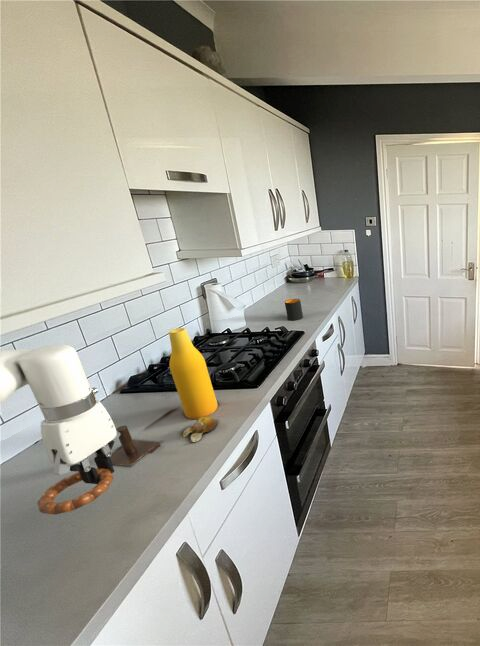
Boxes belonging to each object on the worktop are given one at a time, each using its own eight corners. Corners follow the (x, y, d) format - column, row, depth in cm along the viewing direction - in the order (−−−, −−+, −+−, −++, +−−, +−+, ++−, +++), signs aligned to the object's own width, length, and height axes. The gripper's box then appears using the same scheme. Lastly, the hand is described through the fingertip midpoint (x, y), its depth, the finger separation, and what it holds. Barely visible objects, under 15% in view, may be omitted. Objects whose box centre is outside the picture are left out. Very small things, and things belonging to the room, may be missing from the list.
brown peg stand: (102, 466, 92) (88, 438, 89) (133, 443, 100) (122, 416, 97) (131, 469, 91) (119, 440, 88) (160, 445, 99) (150, 418, 96)
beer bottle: (187, 408, 116) (161, 328, 106) (218, 400, 120) (196, 322, 110) (184, 423, 109) (155, 338, 98) (217, 414, 113) (193, 332, 102)
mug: (302, 313, 206) (300, 296, 203) (303, 319, 196) (300, 302, 192) (288, 315, 204) (285, 298, 200) (287, 321, 193) (284, 303, 189)
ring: (24, 512, 68) (20, 505, 67) (84, 471, 78) (81, 463, 77) (72, 519, 66) (68, 511, 65) (127, 476, 76) (124, 468, 76)
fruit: (180, 434, 104) (176, 424, 102) (209, 419, 110) (206, 410, 109) (193, 444, 99) (190, 434, 98) (222, 428, 106) (219, 418, 104)
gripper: (95, 384, 77) (121, 450, 84) (3, 429, 63) (43, 506, 69) (124, 386, 76) (148, 453, 83) (37, 432, 62) (75, 510, 68)
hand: (100, 476), depth 76 cm, fingers closed on ring, 2 cm apart
